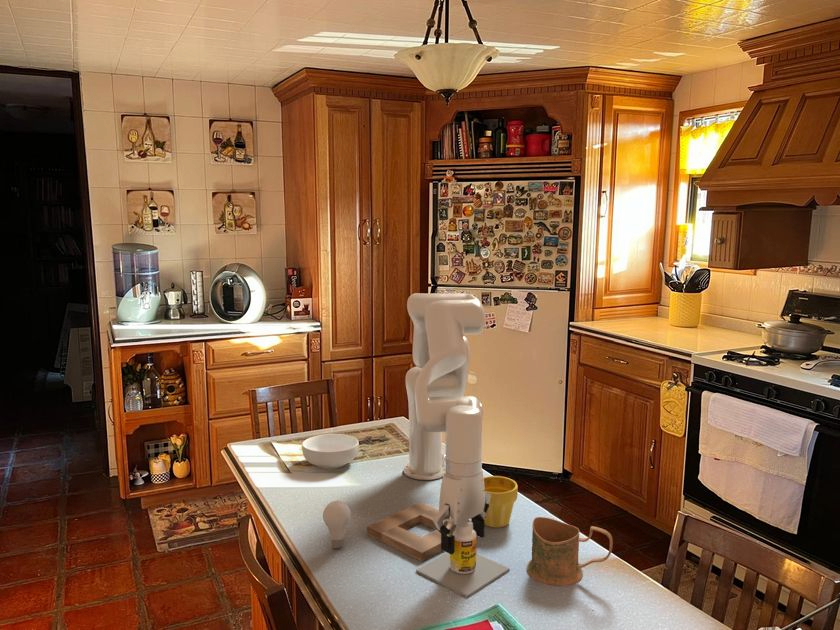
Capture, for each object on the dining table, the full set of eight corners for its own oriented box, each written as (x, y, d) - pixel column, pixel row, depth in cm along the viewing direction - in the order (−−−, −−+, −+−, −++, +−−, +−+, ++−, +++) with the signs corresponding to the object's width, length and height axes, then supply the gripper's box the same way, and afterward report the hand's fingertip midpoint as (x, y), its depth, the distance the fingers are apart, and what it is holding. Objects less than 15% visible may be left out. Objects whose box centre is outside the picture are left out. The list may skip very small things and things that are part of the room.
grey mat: (459, 547, 153) (459, 545, 153) (509, 570, 143) (509, 568, 143) (416, 571, 143) (416, 569, 143) (467, 597, 133) (467, 595, 133)
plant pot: (488, 535, 159) (488, 495, 157) (466, 517, 168) (467, 479, 166) (525, 526, 163) (526, 487, 161) (502, 509, 172) (502, 472, 171)
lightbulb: (356, 544, 154) (355, 499, 153) (342, 557, 149) (340, 510, 147) (333, 539, 157) (332, 494, 155) (318, 551, 151) (317, 505, 150)
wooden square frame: (420, 509, 172) (420, 502, 172) (474, 532, 160) (474, 524, 159) (367, 534, 159) (367, 526, 159) (422, 561, 147) (422, 552, 147)
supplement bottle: (460, 578, 139) (460, 531, 138) (444, 566, 144) (444, 521, 142) (481, 570, 142) (482, 524, 141) (465, 558, 147) (465, 514, 145)
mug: (601, 601, 132) (603, 544, 130) (518, 576, 141) (519, 522, 139) (618, 574, 141) (620, 520, 140) (539, 552, 151) (540, 501, 149)
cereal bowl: (370, 461, 205) (369, 439, 204) (335, 479, 192) (334, 455, 190) (327, 450, 214) (326, 429, 213) (290, 467, 201) (290, 444, 200)
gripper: (476, 450, 148) (475, 524, 151) (421, 472, 136) (421, 552, 138) (503, 459, 143) (502, 535, 146) (449, 483, 131) (449, 565, 133)
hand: (463, 543), depth 142 cm, fingers open, 9 cm apart
